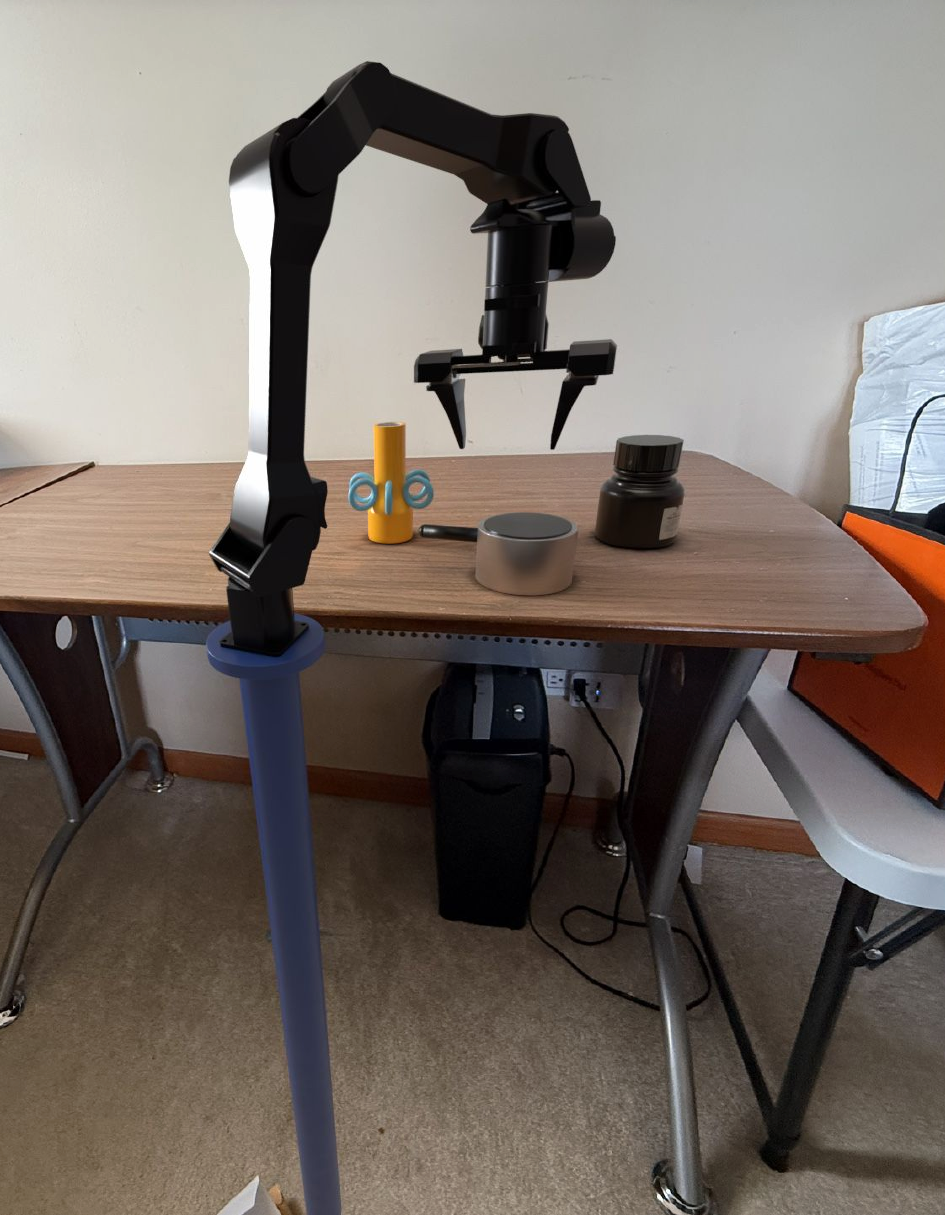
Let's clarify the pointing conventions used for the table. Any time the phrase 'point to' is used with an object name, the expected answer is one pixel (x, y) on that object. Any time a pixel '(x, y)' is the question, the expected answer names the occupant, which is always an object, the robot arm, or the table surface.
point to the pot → (518, 551)
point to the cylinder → (390, 487)
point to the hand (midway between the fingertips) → (506, 448)
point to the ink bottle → (642, 493)
